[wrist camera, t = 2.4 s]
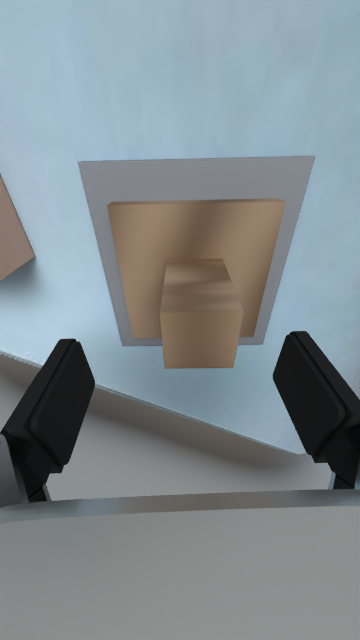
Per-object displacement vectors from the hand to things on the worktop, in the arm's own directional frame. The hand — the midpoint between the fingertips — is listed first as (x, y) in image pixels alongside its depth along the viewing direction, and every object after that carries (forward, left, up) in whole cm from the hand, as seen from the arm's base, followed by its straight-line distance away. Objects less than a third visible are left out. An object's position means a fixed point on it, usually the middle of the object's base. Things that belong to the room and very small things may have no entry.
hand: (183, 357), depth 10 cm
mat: (-1, 0, -8) cm, 8 cm away
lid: (-1, 0, -8) cm, 8 cm away
